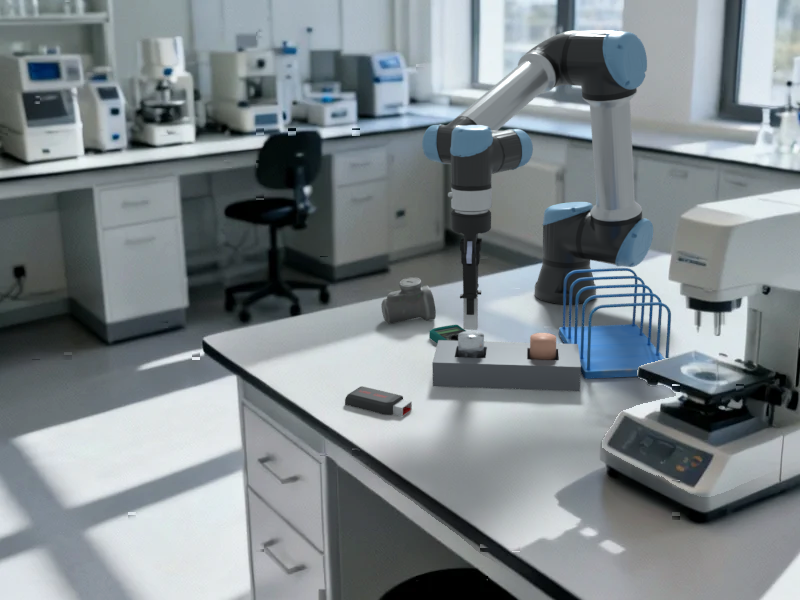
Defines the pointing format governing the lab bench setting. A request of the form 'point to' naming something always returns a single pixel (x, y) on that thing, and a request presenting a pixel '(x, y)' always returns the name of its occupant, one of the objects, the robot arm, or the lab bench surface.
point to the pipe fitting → (409, 302)
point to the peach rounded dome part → (543, 346)
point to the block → (507, 367)
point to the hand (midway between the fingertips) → (470, 328)
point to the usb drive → (378, 401)
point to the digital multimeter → (445, 333)
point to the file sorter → (613, 332)
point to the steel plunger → (471, 344)
